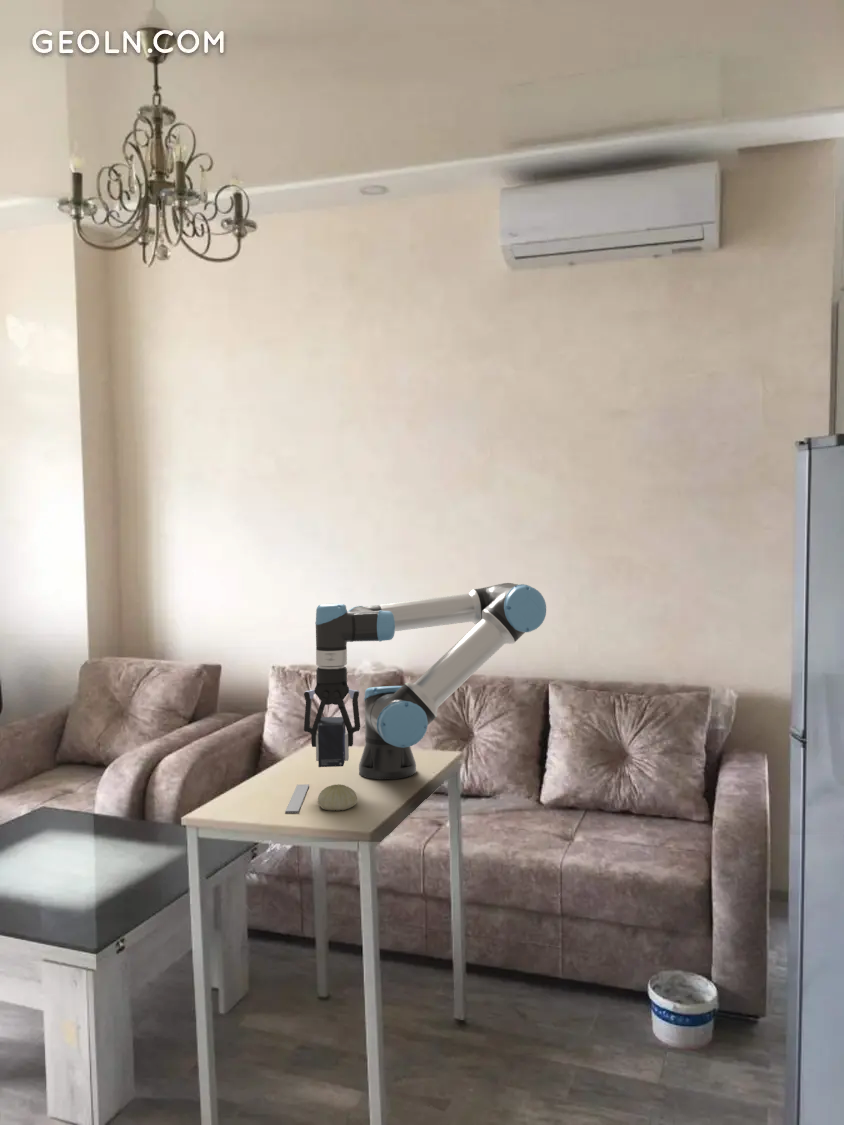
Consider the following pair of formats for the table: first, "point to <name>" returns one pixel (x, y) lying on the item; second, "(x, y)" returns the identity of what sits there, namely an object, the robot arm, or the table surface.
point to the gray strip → (297, 799)
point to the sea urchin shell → (337, 797)
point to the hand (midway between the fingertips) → (332, 759)
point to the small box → (331, 742)
